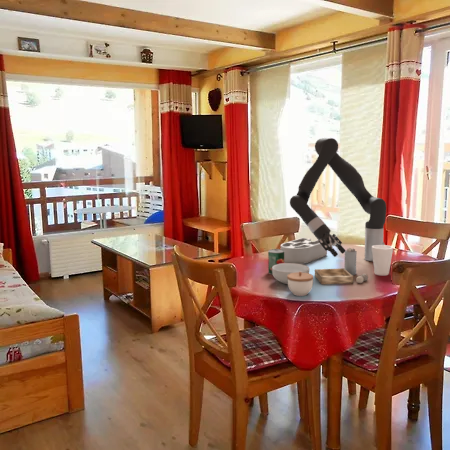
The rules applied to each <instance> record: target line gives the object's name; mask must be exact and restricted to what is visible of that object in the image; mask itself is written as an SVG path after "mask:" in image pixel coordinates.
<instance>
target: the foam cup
mask: <svg viewBox="0 0 450 450" xmlns="http://www.w3.org/2000/svg"><path fill="white" fill-rule="evenodd" d="M393 254H394V246H392V245H389V244H388V245H386V244H384V245H374V246H372V255H373V261H372V262H373V263H372V265H373V271H374V274H375V275H376V276H388V275H389V274H390V268H391V262H392V257H393Z"/></svg>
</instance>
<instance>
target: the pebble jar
mask: <svg viewBox="0 0 450 450" xmlns="http://www.w3.org/2000/svg"><path fill="white" fill-rule="evenodd" d="M345 250H346V251H345V252H344V269H345V270H347V271H348V272H349V273H350V274H351V275H352V276H356V275H357V251H356V249H355V248H351V247H348V248H347V249H345Z"/></svg>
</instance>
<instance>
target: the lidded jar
mask: <svg viewBox="0 0 450 450" xmlns="http://www.w3.org/2000/svg"><path fill="white" fill-rule="evenodd" d="M287 278H288V284H287V286H288V289H289V291H290V292H291V293H292V294H293V295H294V296H298V297H303V296H304V297H305V296H307V295H308V294H309V293H310V292H311V291H312V289H313V285H314V275H313V274H311V273H310V272H309V273H302V272H297V273H291V274H288V275H287Z"/></svg>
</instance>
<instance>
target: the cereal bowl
mask: <svg viewBox="0 0 450 450" xmlns="http://www.w3.org/2000/svg"><path fill="white" fill-rule="evenodd" d="M297 272H302V273H309V274H310V267H309V266H308V265H305V264H294V263H285V262H284V263H282V264H277V265H274V266H273V267H272V274H273V275H272V274H271V275H272V276H273V277H274V279H276V280H277V281H278V282H280V283H281V284H284V285H288V278H287V275H288V274H291V273H297Z"/></svg>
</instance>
